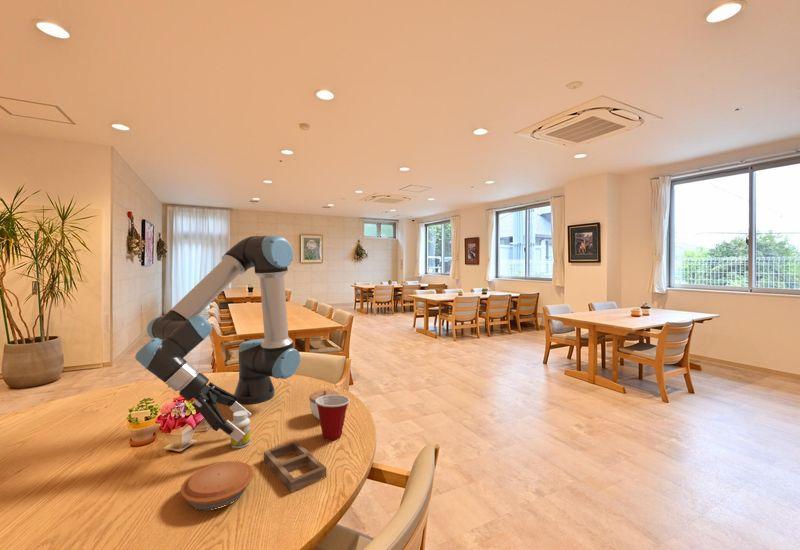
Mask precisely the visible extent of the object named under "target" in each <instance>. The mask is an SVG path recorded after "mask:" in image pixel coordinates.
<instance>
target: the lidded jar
mask: <svg viewBox="0 0 800 550" xmlns="http://www.w3.org/2000/svg"><path fill="white" fill-rule="evenodd" d="M326 395H341V393H340V392H339V391H336V390H334V389H333V390H332V389H321V390H317V391H314V392H312V393H310V395H309V397H308V399H309V408H310V411H311V413H312V415H313V416H314V417H315V419H317V420H319V421H320V417H319V412H318V407H317V404H316V399H317V398H318V397H321V396H326Z"/></svg>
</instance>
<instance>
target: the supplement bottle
mask: <svg viewBox="0 0 800 550" xmlns="http://www.w3.org/2000/svg"><path fill="white" fill-rule="evenodd" d="M247 416H248V413H247V411H237V412H235V413H234V412H233V413H232V421H230V422H231V423H232V424H234V425H235V426H236V427H237V428H239V429H240V430H241V431H242V432H244V433H245V435H244V436H243V437H242V438H241V439H240V440H239V442H236V441H235V440H234V439H233V438H231V437H230V445H231V447H232V448H233V449H243V448H245V447H247V446H249V445H250V443H251V420H250V418H249V417H248V418H247Z"/></svg>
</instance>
